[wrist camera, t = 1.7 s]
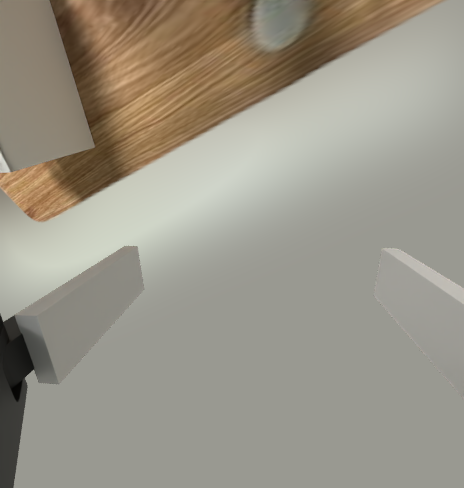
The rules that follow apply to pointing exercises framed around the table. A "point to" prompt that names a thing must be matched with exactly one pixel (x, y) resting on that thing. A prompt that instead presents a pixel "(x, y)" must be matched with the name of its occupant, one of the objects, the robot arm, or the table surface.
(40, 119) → the console
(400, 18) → the table surface
